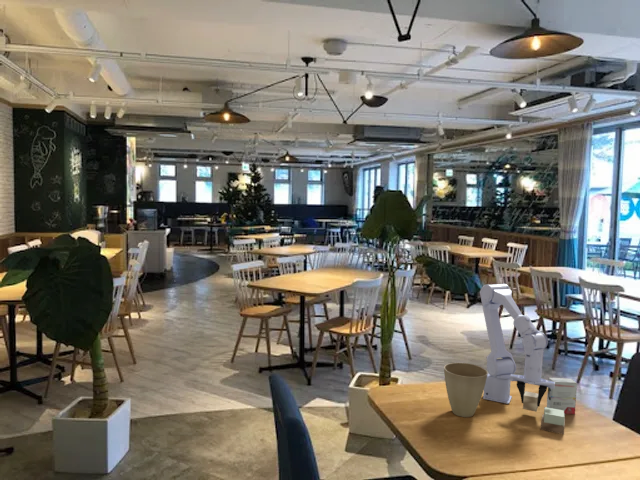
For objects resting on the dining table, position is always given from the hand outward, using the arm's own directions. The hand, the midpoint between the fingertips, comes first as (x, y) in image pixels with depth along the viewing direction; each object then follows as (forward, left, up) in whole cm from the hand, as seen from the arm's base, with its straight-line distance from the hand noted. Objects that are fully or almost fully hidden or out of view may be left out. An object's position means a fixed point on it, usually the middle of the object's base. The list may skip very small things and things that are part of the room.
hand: (530, 404), depth 181 cm
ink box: (+9, +10, -4) cm, 14 cm away
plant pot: (-21, -11, -4) cm, 24 cm away
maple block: (0, 0, -2) cm, 2 cm away
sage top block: (+8, -7, -2) cm, 11 cm away
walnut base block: (+8, -7, -5) cm, 11 cm away
